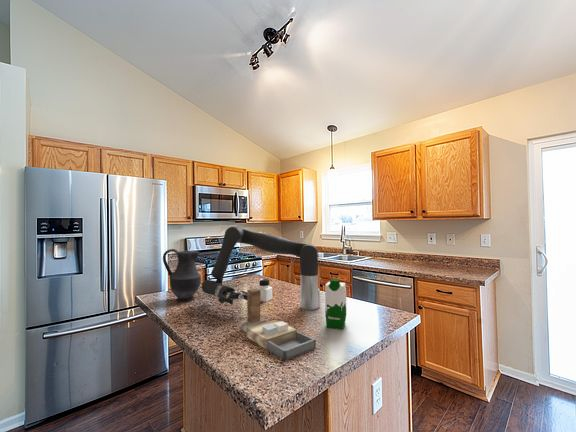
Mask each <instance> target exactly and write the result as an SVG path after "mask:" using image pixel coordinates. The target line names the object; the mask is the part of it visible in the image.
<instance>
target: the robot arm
mask: <svg viewBox="0 0 576 432" xmlns="http://www.w3.org/2000/svg"><path fill="white" fill-rule="evenodd" d="M237 244H245V245H250V246H253V247H255V248H257V249H259V250H262V251H265V252H268V253H273V254H280V255H292V256H295V257H298V258H299V271H300V308H301V309H303V310H307V311H308V310H309V311H312V310H313V311H314V310H317V309H319V308H320V307H321V301H320V300H321V296H320V295H321V293H320V292H321V291H320V288H319V261H318V260H319V259H318V257H319V256H318V255H319V252H318V248H317V247H316V246H315V245H314V244H312V243H306V242H298V241H293V240H289V239H287V238H285V237H281V236H277V235H272V234H269V233H263V232H255V231H250V230H247V229H244V228H242V227H239V226H230V227H228V228H226V230H225V232H224V235H223V240H222V243H221V247H220V249H219V250H220V251H219V253H218V256H217V258H216V259H215V262H214V265H213V268H212V270H211V273H210V276H211V277H212V278H214V279H216V280H212V279H206V280H204V281H203V282H202V284H201V290H202V292H203V293H205V294H208V295H210V296H211V295H212V296H214V297H216V298H217V302H219V303H220V304H224V303H226V304H230V305H233V304H234V301H241V300H245V301H247V291H244V290H240V291H236V289H235V288H234V287H232V286H229V285H227V284H223V281H224V276H225V274H226V271H227V269H228V266H229V265H230V264H229V263H230V259H231V254H232V252H233V250H234V248H235V246H236V245H237Z"/></svg>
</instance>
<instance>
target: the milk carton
mask: <svg viewBox="0 0 576 432" xmlns="http://www.w3.org/2000/svg"><path fill="white" fill-rule="evenodd" d="M324 288H325V289H324V295H325V296H324V298H325V299H324V302H325V303H324V304H325V305H324V306H325V308H324V311H325V313H324V315H325V316H324V317H325V325H326V326H325V327H326V328H327V329H328V328H329V329H335V328H337V330H344V328H345V325H346V319H347V288H346V282H341V281H340V279H337V278H331V279H329V281H328V282H326V283H325V286H324Z"/></svg>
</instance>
